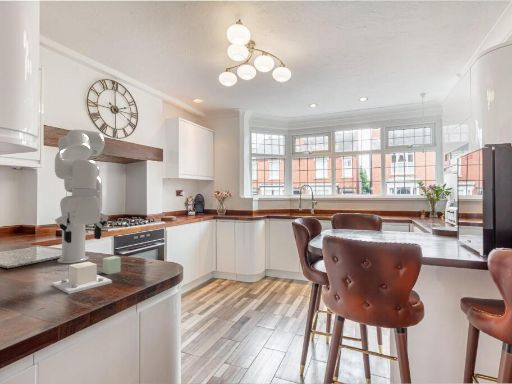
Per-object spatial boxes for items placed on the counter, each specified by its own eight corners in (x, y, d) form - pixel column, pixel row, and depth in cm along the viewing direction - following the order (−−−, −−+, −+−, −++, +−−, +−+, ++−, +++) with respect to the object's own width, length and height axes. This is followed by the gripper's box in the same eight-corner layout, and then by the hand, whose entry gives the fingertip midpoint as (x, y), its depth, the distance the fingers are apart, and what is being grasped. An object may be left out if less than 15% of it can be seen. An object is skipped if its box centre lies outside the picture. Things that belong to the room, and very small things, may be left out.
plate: (52, 285, 98) (52, 280, 98) (93, 275, 109) (93, 271, 109) (69, 294, 90) (69, 288, 90) (112, 282, 101) (112, 278, 101)
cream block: (68, 281, 99) (69, 265, 99) (88, 277, 104) (88, 261, 104) (76, 285, 95) (77, 268, 95) (96, 280, 100) (96, 264, 100)
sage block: (102, 272, 114) (102, 258, 114) (114, 269, 118) (114, 255, 118) (108, 274, 111) (108, 259, 111) (120, 271, 115) (120, 257, 115)
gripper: (103, 193, 109) (102, 236, 109) (51, 193, 95) (51, 242, 95) (113, 193, 104) (112, 238, 104) (60, 193, 90) (59, 245, 90)
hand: (83, 240), depth 100 cm, fingers open, 9 cm apart
